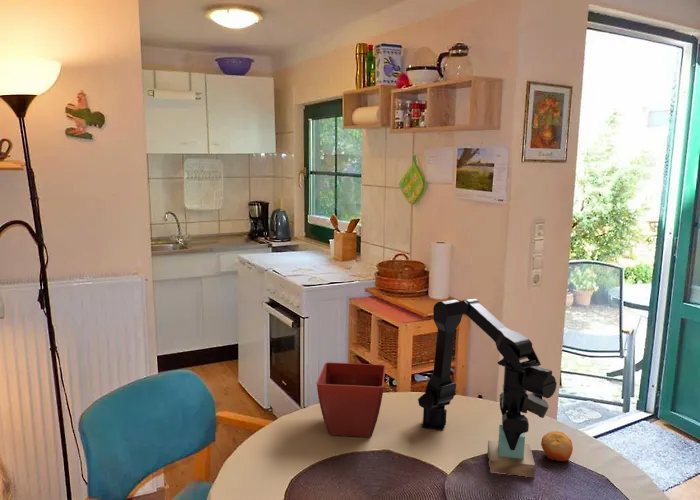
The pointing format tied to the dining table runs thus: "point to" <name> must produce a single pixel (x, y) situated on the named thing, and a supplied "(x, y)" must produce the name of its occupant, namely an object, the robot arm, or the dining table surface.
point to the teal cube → (504, 447)
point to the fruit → (557, 446)
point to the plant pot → (351, 397)
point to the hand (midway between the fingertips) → (511, 441)
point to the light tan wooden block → (511, 461)
